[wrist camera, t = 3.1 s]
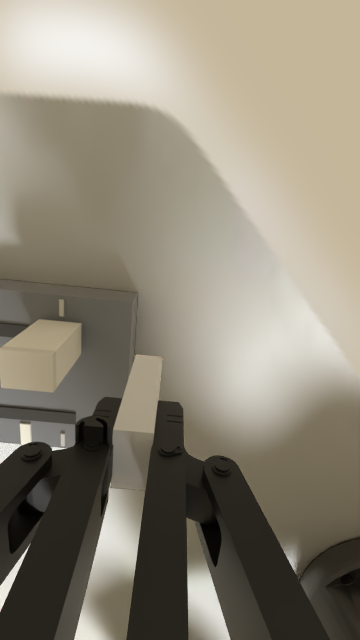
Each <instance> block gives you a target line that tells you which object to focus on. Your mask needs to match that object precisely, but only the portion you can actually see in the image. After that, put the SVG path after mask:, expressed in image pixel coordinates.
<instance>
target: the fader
mask: <svg viewBox="0 0 360 640" xmlns="http://www.w3.org/2000/svg"><path fill="white" fill-rule="evenodd" d="M81 325H82V323H74V322H64V321H54V320H43V319H39V320H37V321H36V322H35V323H33V324H32V325H31V326H29V327H28V328H26V329H25V330H24V331H22V332H21V333H20V334H18V335H17V336H16V337H14V338H13V339H11V340H10V341H9V342H7V343H6V344H5V345H3V346H2V347H1V348H0V382H1V388H8V389H19V390H30V391H41V392H52V393H54V391H55V390H56V388H57V387H58V386H59V384H60V383H61V381H62V380H63V379H64V377H65V376H66V374H67V373H68V372H69V370H70V369H71V368H72V366H73V365H74V363H75V362H76V361H77V359H78V358H79V356H80V355H81Z"/></svg>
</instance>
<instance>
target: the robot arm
mask: <svg viewBox="0 0 360 640" xmlns="http://www.w3.org/2000/svg"><path fill="white" fill-rule="evenodd" d="M162 361H163V357H160V356H149V355H138V354H136V356H135V359H134V362H133V366H132V369H131V372H130V375H129V379H128V382H127V385H126V389H125V392H124V395H123V398H115V397H104V398H103V399H101V400H100V401H99V402H98V403H97V405H96V408H95V411H94V412H93V415H92V416H88V417H84V418H82V419H81V420H79V421H78V422H77V423H76V424H75V445H74V446H72V447H70V448H67V449H62V450H55V451H52V448H51V447H50V446H49V445H48V444H46V443H44V442H30V443H27V444H24V445H22V446H20V447H19V448H17V449H16V450H15V451H14V452H13V453H12V454H11V455H10V456H9V457H8V458H6V459H5V460H4V461H3V462H2V463H1V464H0V585H1V584H2V583H3V581H4V580H5V578H6V577H7V576H8V574H9V573H10V571H11V570H12V569H13V567H14V566H15V564H16V563H17V562H18V560H19V559H20V557H21V556H22V555H23V553H24V552H25V550H26V549H27V548H28V546H29V545H30V546H29V548H28V551H27V553H26V555H25V557H24V560H23V562H22V564H21V567H20V569H19V571H18V573H17V576H16V578H15V580H14V582H13V585H12V587H11V589H10V591H9V594H8V596H7V598H6V600H5V603H4V605H3V607H2V609H1V612H0V640H74V637H75V633H76V629H77V625H78V621H79V617H80V613H81V609H82V604H83V600H84V596H85V592H86V588H87V584H88V580H89V576H90V572H91V568H92V564H93V560H94V555H95V551H96V547H97V543H98V539H99V535H100V531H101V527H102V523H103V519H104V515H105V510H106V506H107V502H108V492H109V486H110V482H111V488H120V489H132V490H145V498H144V506H143V514H142V522H141V530H140V538H139V545H138V553H137V561H136V569H135V577H134V585H133V592H132V600H131V608H130V616H129V624H128V632H127V640H188V590H187V527H186V517H187V518H189V519H192V520H194V521H195V522H196V528H197V531H198V534H199V537H200V541H201V544H202V547H203V550H204V554H205V557H206V560H207V564H208V567H209V570H210V573H211V577H212V580H213V583H214V586H215V590H216V593H217V596H218V600H219V603H220V606H221V609H222V613H223V616H224V619H225V622H226V626H227V629H228V632H229V636H230V639H231V640H360V539H356V540H352V541H348V542H345V543H342V544H340V545H337V546H335V547H333V548H331V549H329V550H328V551H326V552H324V553H323V554H322V555H320V556H319V557H318V558H316V559H315V560H314V561H313V562H312V563H311V564H310V565H309V566H308V568H307V569H306V570H305V572H304V573H303V575H302V577H301V579H300V581H299V580H298V578H297V576H296V574H295V572H294V570H293V568H292V566H291V565H290V563H289V561H288V559H287V557H286V555H285V553H284V551H283V550H282V548H281V546H280V544H279V542H278V540H277V538H276V536H275V534H274V533H273V531H272V529H271V527H270V525H269V523H268V521H267V519H266V518H265V516H264V514H263V512H262V510H261V508H260V506H259V504H258V503H257V501H256V499H255V497H254V495H253V493H252V491H251V489H250V487H249V486H248V484H247V482H246V480H245V478H244V476H243V474H242V472H241V471H240V469H239V467H238V466H237V464H236V463H235V462H234V461H233V460H231V459H229V458H227V457H224V456H212V457H209V458H208V459H207V460H205V462H204V461H201V460H198V459H196V458H193V457H192V456H190V455H189V454H188V453H187V452H186V450H185V448H184V436H183V408H182V407H181V405H180V404H179V402H169V401H159V393H160V383H161V372H162ZM30 543H31V544H30Z"/></svg>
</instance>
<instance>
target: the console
mask: <svg viewBox="0 0 360 640" xmlns="http://www.w3.org/2000/svg"><path fill="white" fill-rule="evenodd" d="M137 302H138V293H136V292H126V291H116V290H106V289H96V288H86V287H76V286H66V285H56V284H46V283H35V282H25V281H15V280H5V279H0V348H1V347H2V346H3V345H5V344H6V343H7V342H9V341H10V340H11V339H13V338H14V337H16V336H17V335H18V334H20V333H21V332H22V331H24V330H25V329H26V328H28V327H29V326H31V325H32V324H33V323H35V322H36V321H37V320H39V319H43V320H54V321H64V322H74V323H82V325H81V355H80V356H79V358H78V359H77V361H76V362H75V363H74V365H73V366H72V368H71V369H70V370H69V372H68V373H67V374H66V376H65V377H64V379H63V380H62V381H61V383H60V384H59V386H58V387H57V388H56V390H55V391H54V393H52V392H41V391H30V390H19V389H8V388H1V382H0V442H3V443H15V444H21V446H22V445H24V444H27V443H30V442H44V443H46V444H48V445H49V446H50V447H61V448H70V447H72V446H74V445H75V424H76V423H77V422H78V421H79V420H81V419H82V418H84V417H88V416H92V415H93V412H94V411H95V408H96V405H97V403H98V402H99V401H100V400H101V399H103V398H104V397H115V398H123V395H124V392H125V389H126V385H127V382H128V379H129V375H130V372H131V369H132V366H133V362H134V350H135V334H136V318H137Z"/></svg>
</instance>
